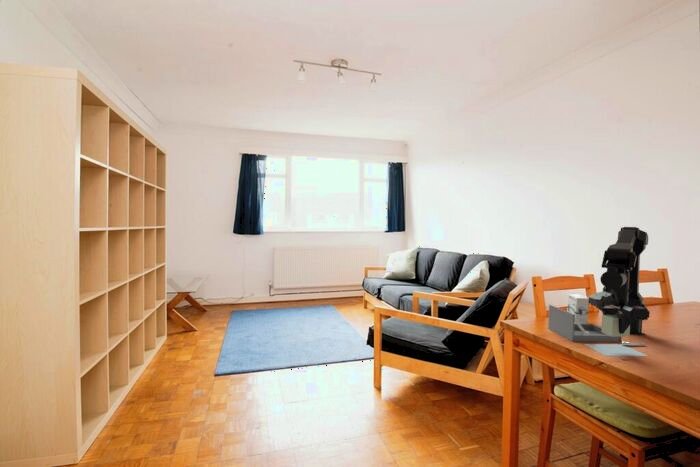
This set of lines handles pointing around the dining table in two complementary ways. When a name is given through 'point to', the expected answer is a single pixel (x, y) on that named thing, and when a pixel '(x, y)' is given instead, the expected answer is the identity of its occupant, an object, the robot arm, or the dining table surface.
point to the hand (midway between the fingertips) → (615, 331)
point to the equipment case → (575, 327)
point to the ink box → (578, 307)
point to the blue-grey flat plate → (614, 350)
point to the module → (613, 326)
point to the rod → (632, 344)
